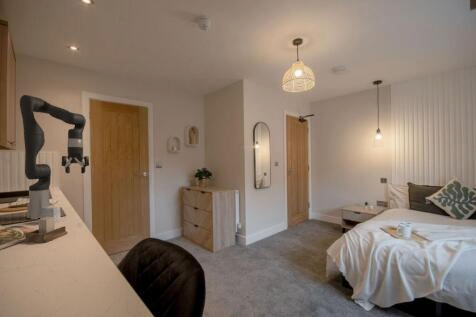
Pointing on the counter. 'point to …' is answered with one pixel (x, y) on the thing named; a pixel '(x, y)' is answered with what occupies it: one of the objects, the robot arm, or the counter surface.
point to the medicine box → (51, 212)
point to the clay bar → (46, 225)
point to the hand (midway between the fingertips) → (75, 173)
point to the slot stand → (45, 235)
